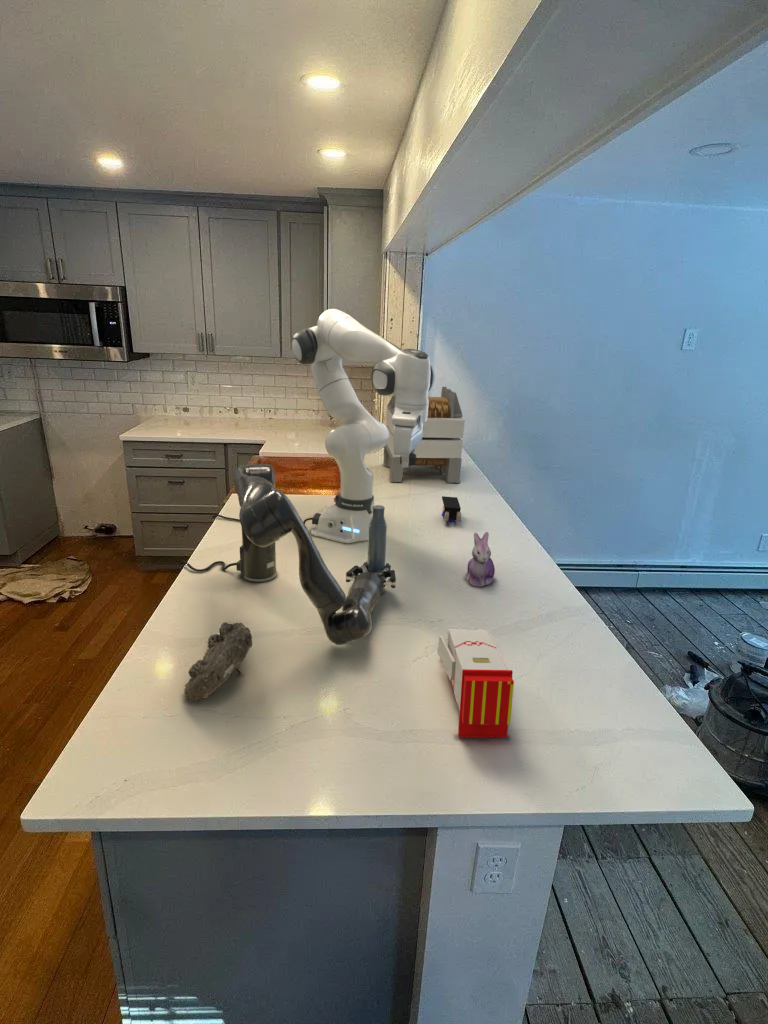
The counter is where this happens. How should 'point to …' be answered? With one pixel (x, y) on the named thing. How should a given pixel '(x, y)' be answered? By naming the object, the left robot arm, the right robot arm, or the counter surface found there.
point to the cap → (412, 459)
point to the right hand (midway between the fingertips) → (407, 464)
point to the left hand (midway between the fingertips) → (377, 565)
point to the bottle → (377, 541)
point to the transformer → (432, 438)
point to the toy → (478, 682)
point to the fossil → (218, 660)
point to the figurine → (480, 562)
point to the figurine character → (451, 509)
